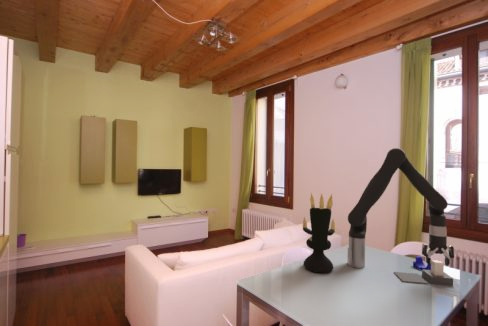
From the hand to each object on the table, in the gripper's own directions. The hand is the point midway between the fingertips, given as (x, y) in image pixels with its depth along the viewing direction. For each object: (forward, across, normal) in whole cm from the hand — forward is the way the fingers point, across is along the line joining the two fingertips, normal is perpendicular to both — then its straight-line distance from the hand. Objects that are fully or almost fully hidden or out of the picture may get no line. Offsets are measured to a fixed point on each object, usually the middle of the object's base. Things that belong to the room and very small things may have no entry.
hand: (437, 264), depth 142 cm
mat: (+8, -13, 0) cm, 16 cm away
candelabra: (+8, -60, +2) cm, 61 cm away
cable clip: (+9, 0, +14) cm, 17 cm away
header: (+8, 0, 0) cm, 8 cm away
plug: (+8, 0, 0) cm, 8 cm away
